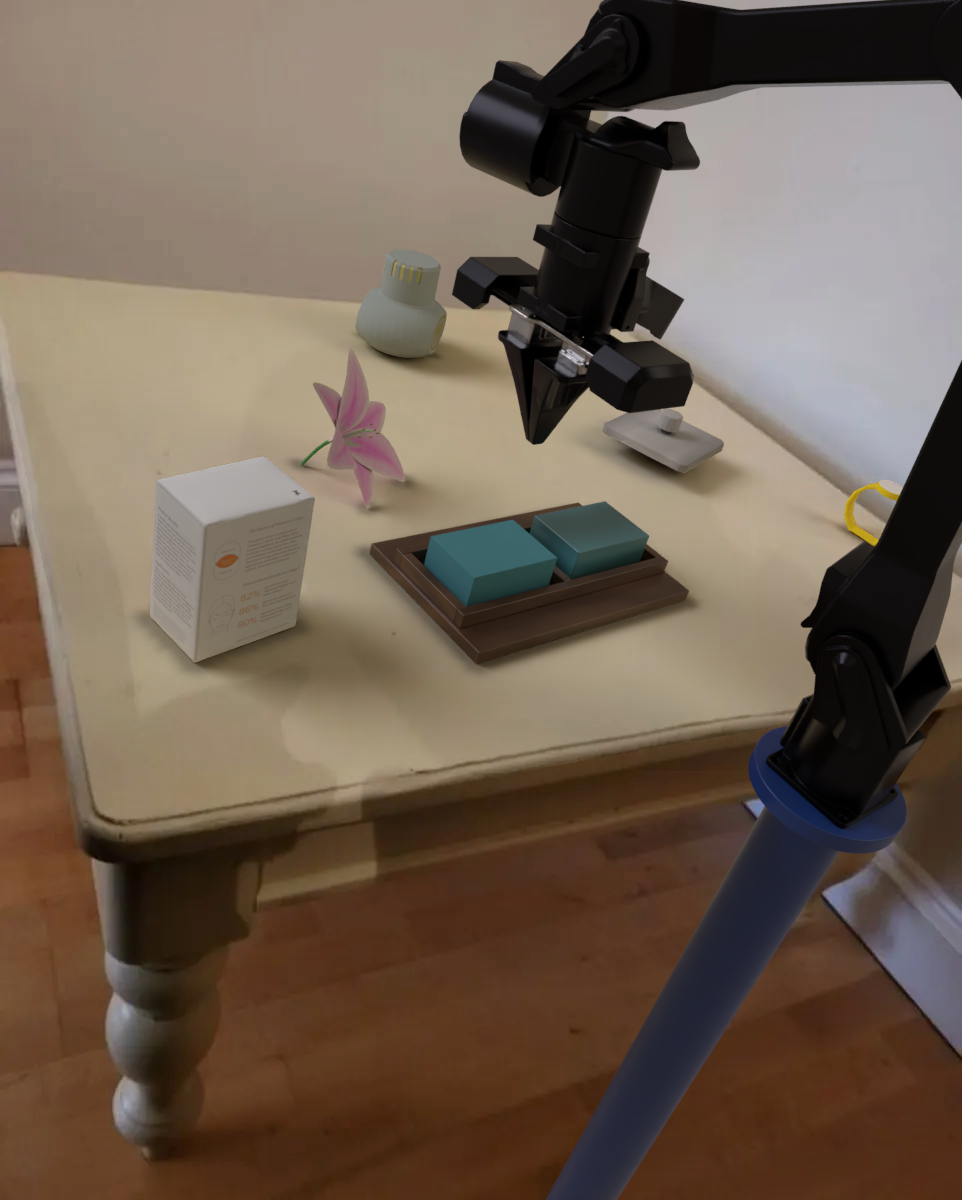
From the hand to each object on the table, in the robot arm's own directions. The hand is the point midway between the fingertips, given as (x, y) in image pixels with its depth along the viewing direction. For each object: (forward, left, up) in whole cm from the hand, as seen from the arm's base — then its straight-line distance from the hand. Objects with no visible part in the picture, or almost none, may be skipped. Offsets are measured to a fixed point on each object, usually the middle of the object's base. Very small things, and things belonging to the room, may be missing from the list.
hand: (534, 442), depth 73 cm
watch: (-7, -42, -12) cm, 44 cm away
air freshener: (+40, -17, -12) cm, 45 cm away
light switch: (+12, -31, -12) cm, 35 cm away
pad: (-1, +2, -11) cm, 11 cm away
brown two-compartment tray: (-1, -3, -12) cm, 12 cm away
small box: (+2, +22, -12) cm, 25 cm away
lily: (+16, +4, -12) cm, 21 cm away
